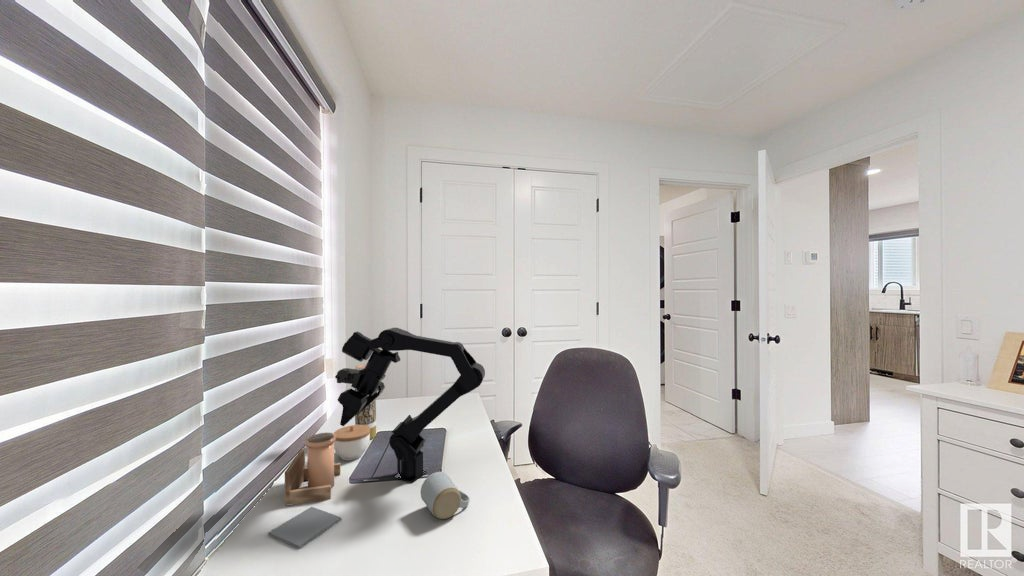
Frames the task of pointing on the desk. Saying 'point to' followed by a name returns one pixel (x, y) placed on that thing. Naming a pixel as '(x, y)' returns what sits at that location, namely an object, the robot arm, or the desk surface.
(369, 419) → the bark log
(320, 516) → the slate mat
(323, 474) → the terracotta pot
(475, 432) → the desk surface
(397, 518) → the desk surface
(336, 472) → the light wood arch piece
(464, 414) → the desk surface
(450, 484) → the ceramic mug
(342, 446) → the lidded jar
